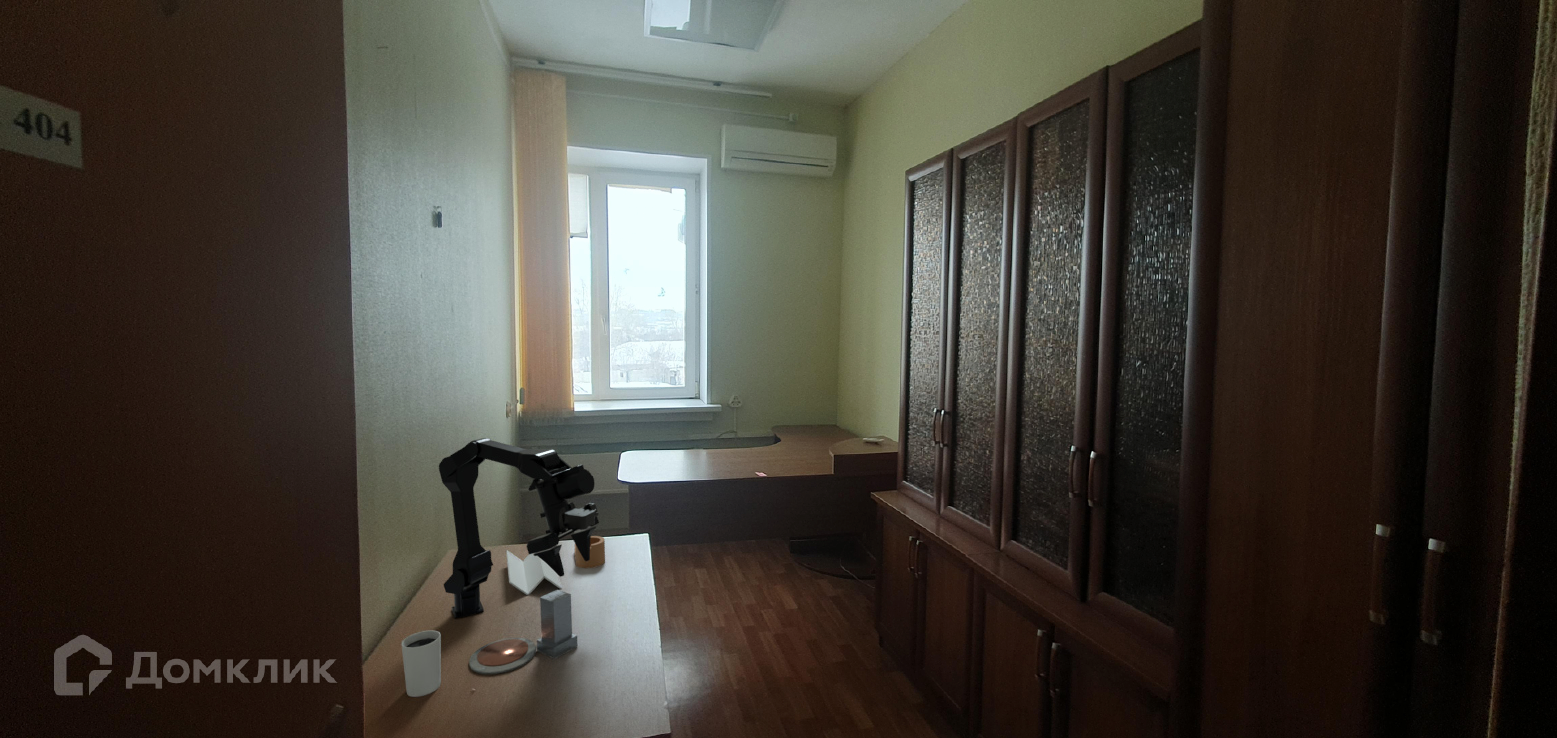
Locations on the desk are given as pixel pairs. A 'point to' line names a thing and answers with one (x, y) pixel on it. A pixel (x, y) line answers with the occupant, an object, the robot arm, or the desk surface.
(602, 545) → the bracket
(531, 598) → the desk surface
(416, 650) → the white cup
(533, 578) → the white zigzag folded sheet
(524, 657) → the copper centred dish
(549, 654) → the grey stepped block
